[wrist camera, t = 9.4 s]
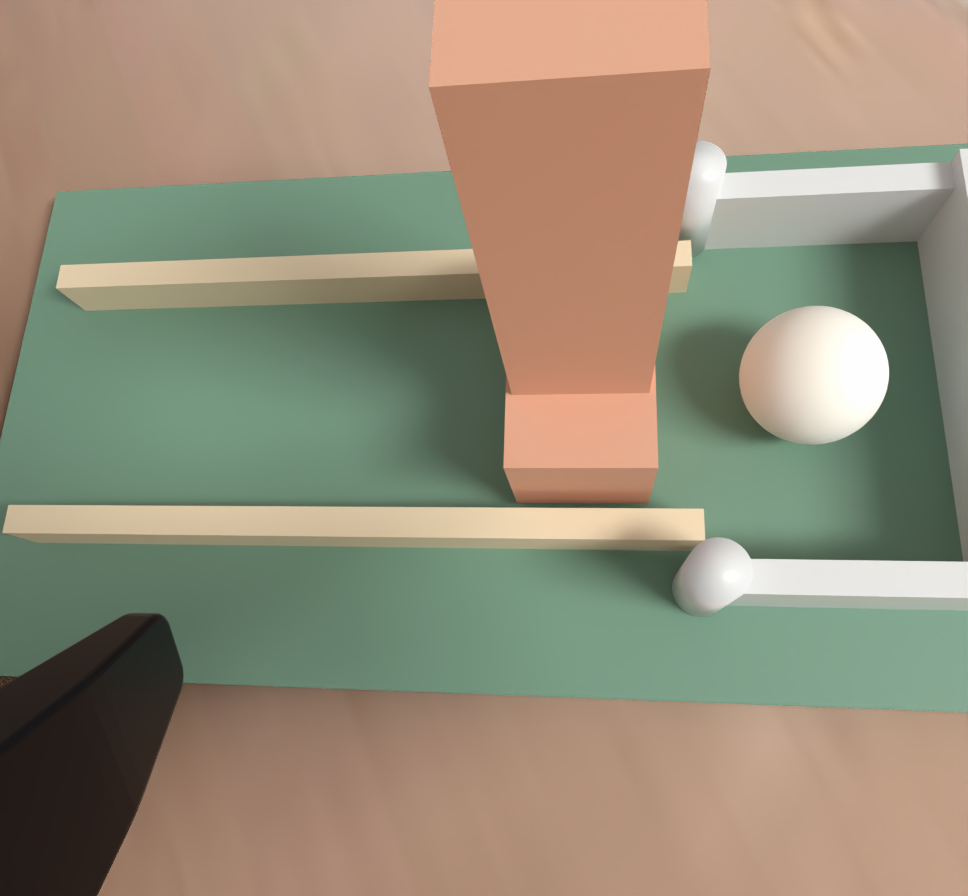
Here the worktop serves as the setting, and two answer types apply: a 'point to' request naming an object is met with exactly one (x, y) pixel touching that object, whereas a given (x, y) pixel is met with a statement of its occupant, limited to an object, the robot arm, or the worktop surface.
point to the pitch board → (442, 460)
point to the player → (574, 217)
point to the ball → (813, 375)
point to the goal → (955, 340)
